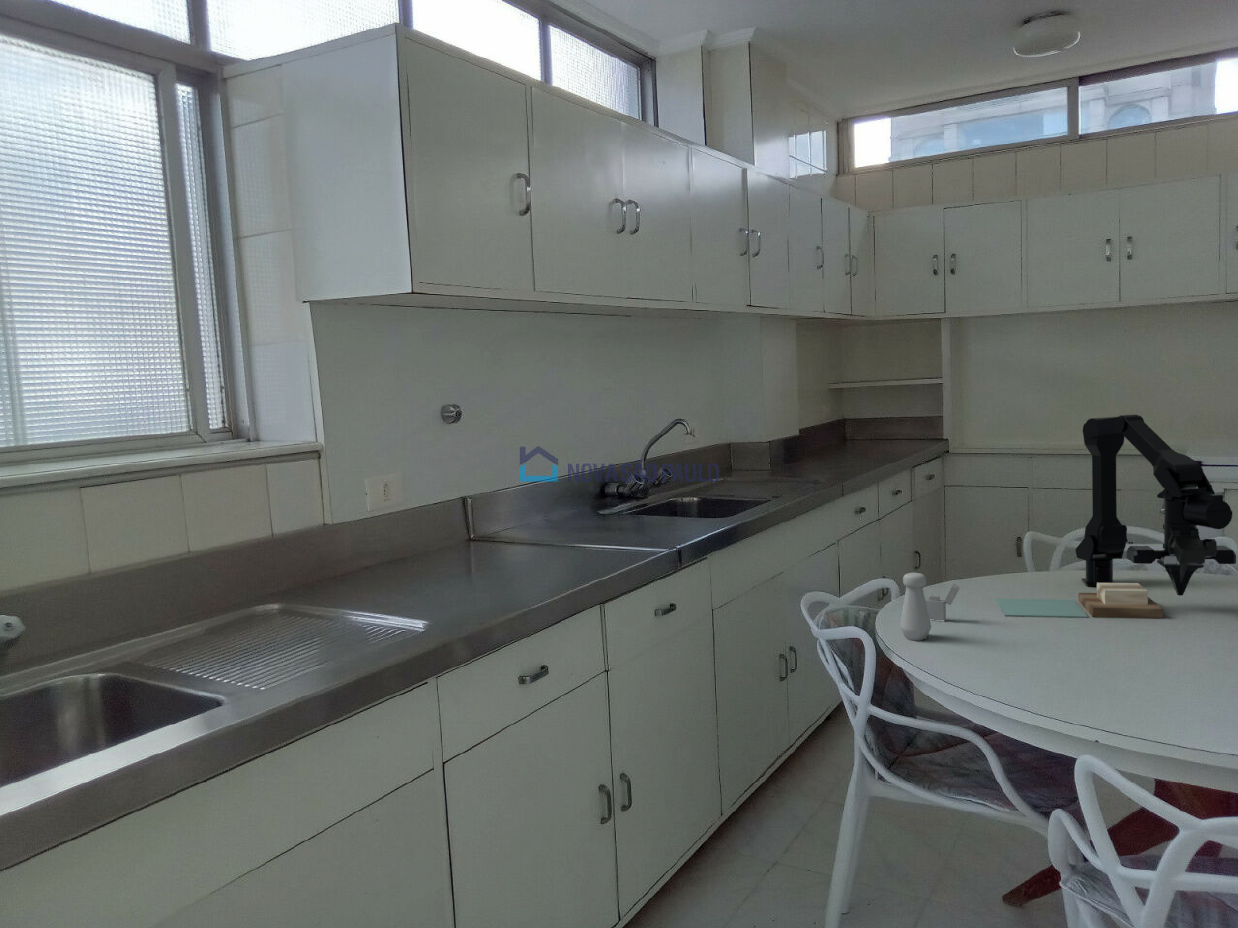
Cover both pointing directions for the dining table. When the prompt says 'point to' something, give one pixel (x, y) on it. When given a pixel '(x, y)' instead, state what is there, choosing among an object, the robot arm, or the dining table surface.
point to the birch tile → (1122, 593)
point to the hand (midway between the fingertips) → (1179, 595)
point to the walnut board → (1119, 608)
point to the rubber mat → (1041, 608)
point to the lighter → (940, 604)
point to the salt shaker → (915, 608)
